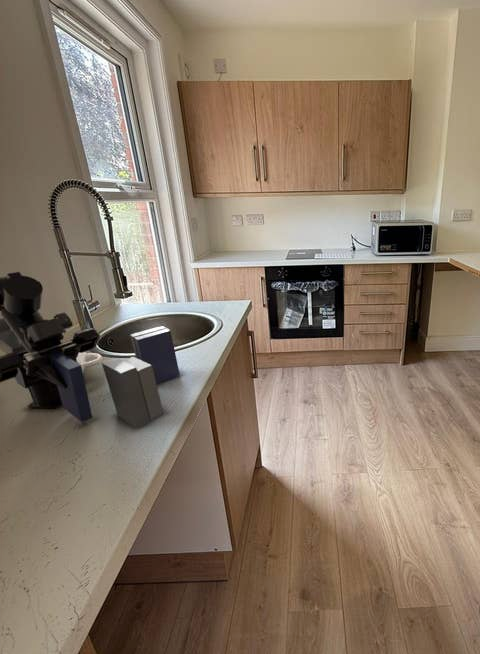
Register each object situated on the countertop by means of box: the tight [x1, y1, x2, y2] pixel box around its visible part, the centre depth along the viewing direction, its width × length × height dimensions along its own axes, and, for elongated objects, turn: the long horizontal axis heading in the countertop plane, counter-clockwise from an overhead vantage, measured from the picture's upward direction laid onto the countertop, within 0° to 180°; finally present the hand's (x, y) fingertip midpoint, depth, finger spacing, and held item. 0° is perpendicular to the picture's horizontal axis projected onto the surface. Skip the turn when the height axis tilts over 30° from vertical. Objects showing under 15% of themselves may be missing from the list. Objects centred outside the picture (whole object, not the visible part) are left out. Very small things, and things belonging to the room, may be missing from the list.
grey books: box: [101, 356, 164, 429], centre depth 74 cm, size 8×6×13 cm
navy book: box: [50, 353, 93, 423], centre depth 73 cm, size 8×2×13 cm, turn 57°
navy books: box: [129, 325, 181, 385], centre depth 89 cm, size 8×5×13 cm, turn 135°
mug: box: [76, 351, 103, 373], centre depth 92 cm, size 12×10×8 cm
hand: (72, 384), depth 72 cm, fingers closed on navy book, 2 cm apart
